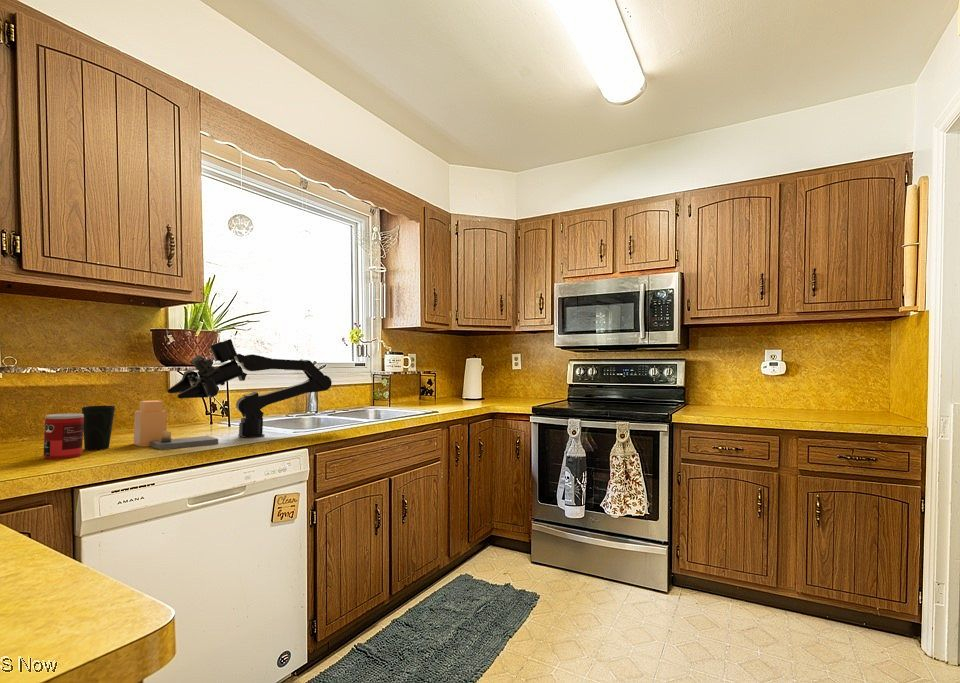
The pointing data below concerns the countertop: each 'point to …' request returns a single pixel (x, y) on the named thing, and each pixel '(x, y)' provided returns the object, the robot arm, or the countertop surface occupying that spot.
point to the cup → (97, 426)
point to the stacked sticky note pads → (149, 422)
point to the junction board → (181, 441)
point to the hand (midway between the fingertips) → (172, 394)
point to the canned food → (63, 435)
